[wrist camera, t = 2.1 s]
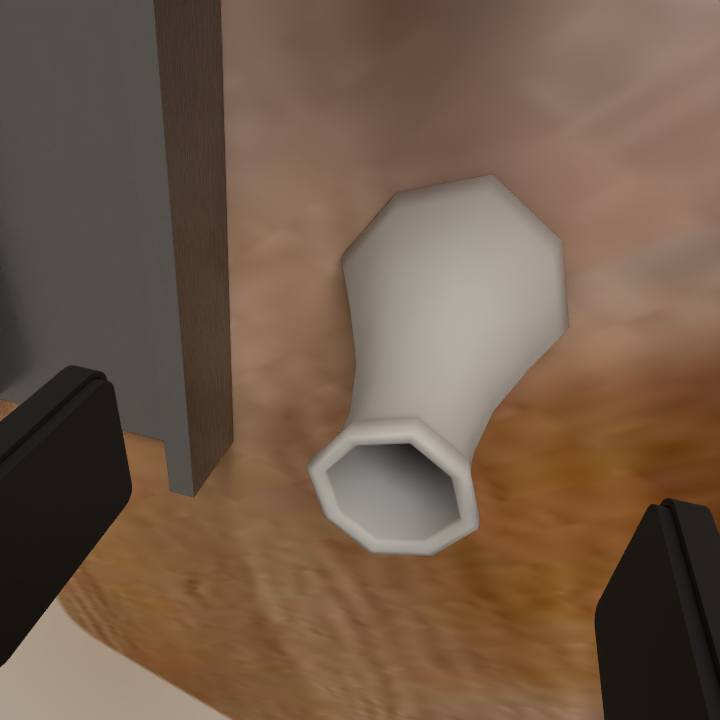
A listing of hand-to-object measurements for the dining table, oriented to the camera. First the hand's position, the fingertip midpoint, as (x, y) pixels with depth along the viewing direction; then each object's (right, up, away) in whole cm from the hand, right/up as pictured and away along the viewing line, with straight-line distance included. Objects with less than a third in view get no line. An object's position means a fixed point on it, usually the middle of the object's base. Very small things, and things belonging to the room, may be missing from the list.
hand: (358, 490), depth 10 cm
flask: (+3, +5, +9) cm, 11 cm away
